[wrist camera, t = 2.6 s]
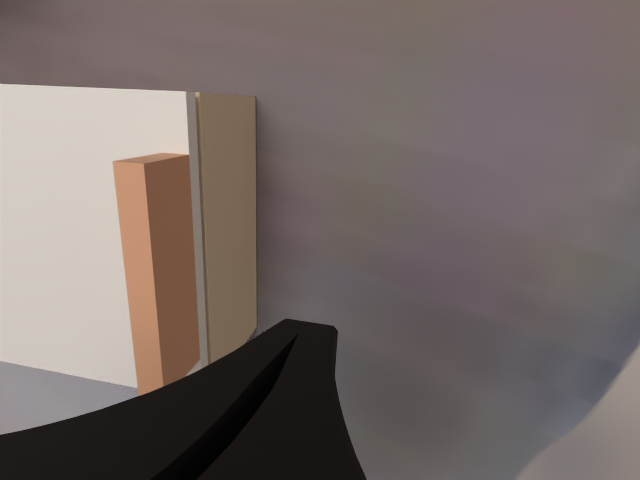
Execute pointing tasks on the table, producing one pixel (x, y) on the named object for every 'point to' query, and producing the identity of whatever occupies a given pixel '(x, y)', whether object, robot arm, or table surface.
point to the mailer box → (228, 218)
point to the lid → (101, 234)
